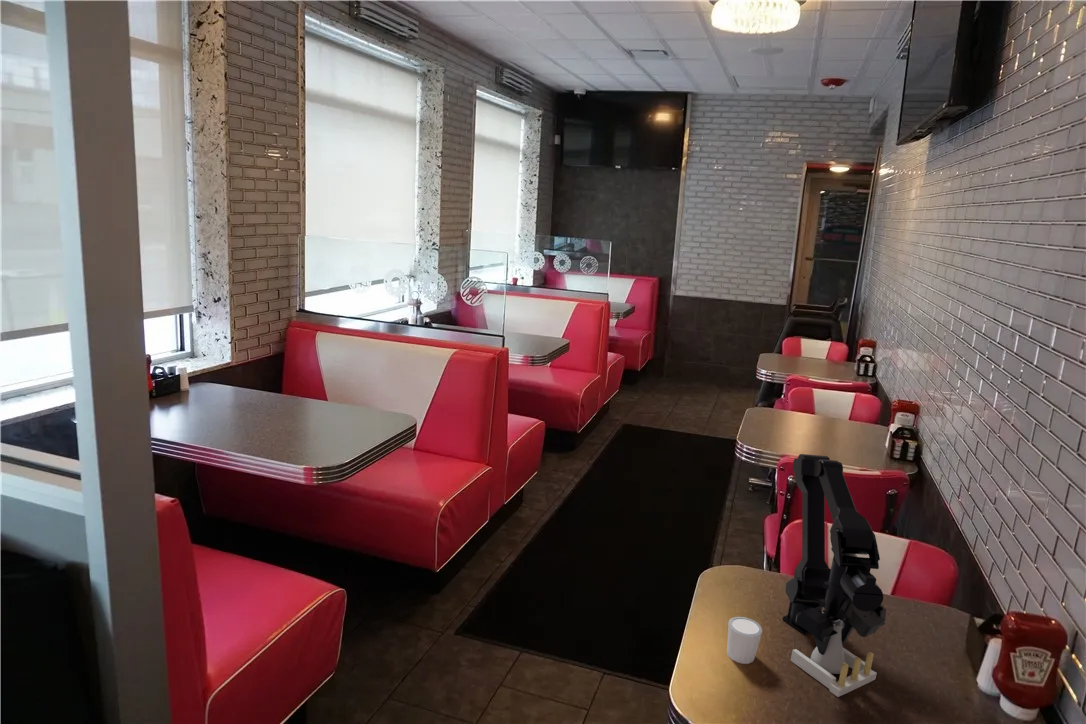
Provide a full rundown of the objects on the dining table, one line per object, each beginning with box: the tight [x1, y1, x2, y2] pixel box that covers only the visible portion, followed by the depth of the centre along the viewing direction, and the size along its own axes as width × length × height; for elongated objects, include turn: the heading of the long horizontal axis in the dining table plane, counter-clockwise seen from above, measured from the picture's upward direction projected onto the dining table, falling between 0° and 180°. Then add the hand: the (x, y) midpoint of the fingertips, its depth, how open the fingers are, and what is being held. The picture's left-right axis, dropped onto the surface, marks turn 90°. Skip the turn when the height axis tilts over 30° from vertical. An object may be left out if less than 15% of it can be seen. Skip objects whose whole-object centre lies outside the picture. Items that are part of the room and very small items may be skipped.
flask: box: [809, 620, 846, 675], centre depth 150 cm, size 7×7×10 cm
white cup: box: [726, 616, 763, 665], centre depth 152 cm, size 7×7×7 cm
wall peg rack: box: [790, 647, 878, 698], centre depth 149 cm, size 12×12×6 cm
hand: (830, 650), depth 150 cm, fingers closed on flask, 5 cm apart
